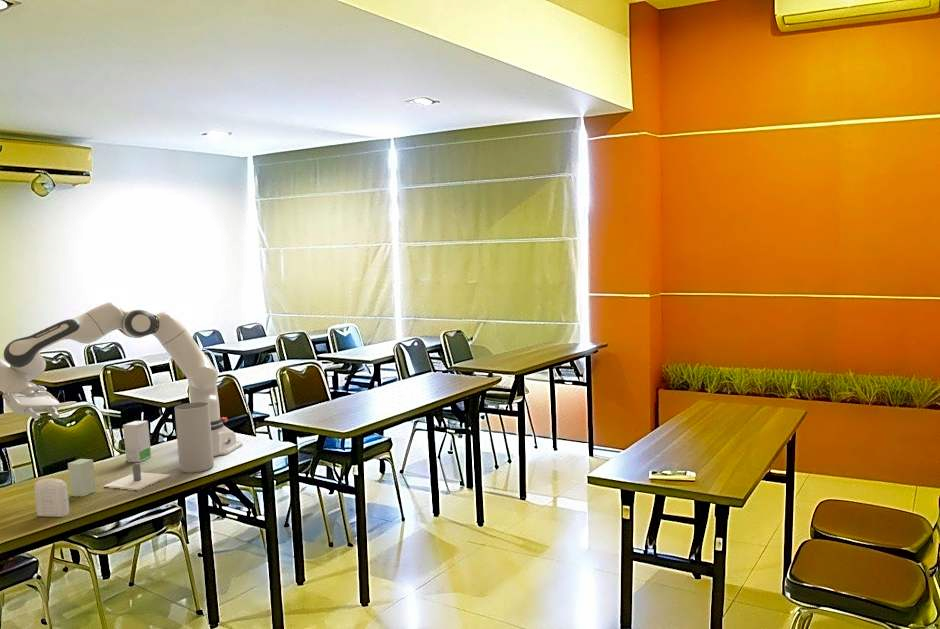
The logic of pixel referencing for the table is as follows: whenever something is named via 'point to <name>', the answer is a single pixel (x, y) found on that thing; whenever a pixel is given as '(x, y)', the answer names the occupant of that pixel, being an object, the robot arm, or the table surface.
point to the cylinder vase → (194, 437)
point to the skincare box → (137, 441)
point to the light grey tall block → (81, 477)
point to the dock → (137, 484)
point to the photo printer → (51, 497)
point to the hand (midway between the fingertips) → (48, 417)
